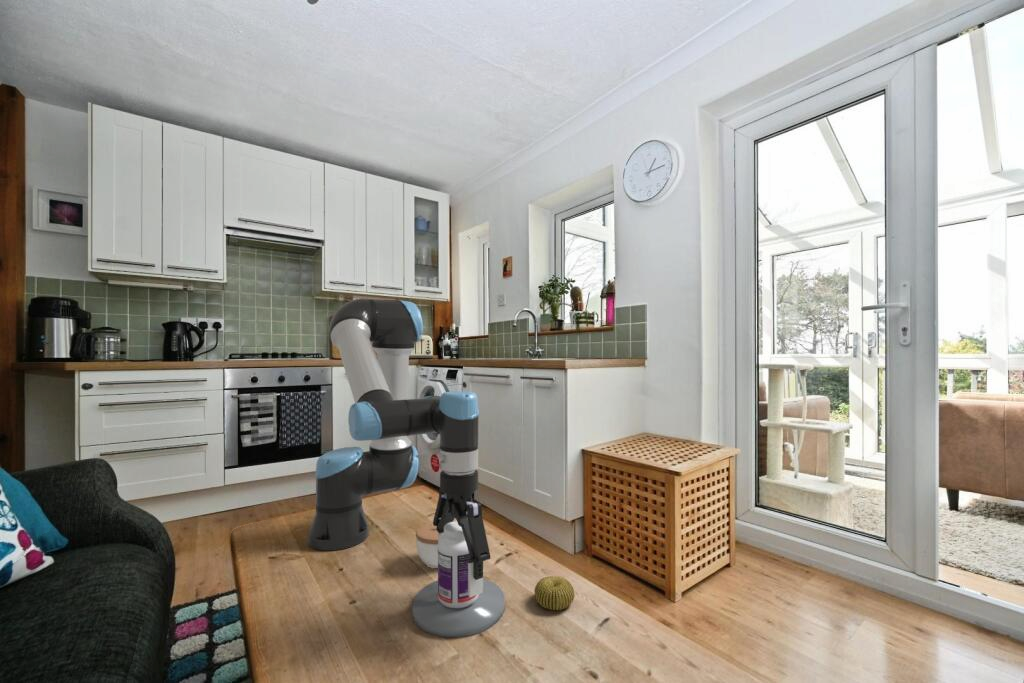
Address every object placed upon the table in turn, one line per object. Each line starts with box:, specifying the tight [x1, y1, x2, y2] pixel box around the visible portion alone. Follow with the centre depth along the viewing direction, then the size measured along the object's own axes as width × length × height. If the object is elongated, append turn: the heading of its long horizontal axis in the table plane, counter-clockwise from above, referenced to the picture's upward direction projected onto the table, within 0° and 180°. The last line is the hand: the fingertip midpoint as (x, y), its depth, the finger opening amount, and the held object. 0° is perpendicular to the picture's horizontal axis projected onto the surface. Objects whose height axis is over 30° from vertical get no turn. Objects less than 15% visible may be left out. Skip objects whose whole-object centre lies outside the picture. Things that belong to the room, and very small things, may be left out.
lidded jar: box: [415, 521, 439, 569], centre depth 104 cm, size 11×11×9 cm
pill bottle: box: [437, 520, 479, 608], centre depth 86 cm, size 8×8×14 cm
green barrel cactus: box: [534, 575, 575, 611], centre depth 88 cm, size 8×4×8 cm
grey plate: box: [411, 577, 506, 638], centre depth 86 cm, size 18×18×2 cm
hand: (459, 578), depth 86 cm, fingers open, 13 cm apart
